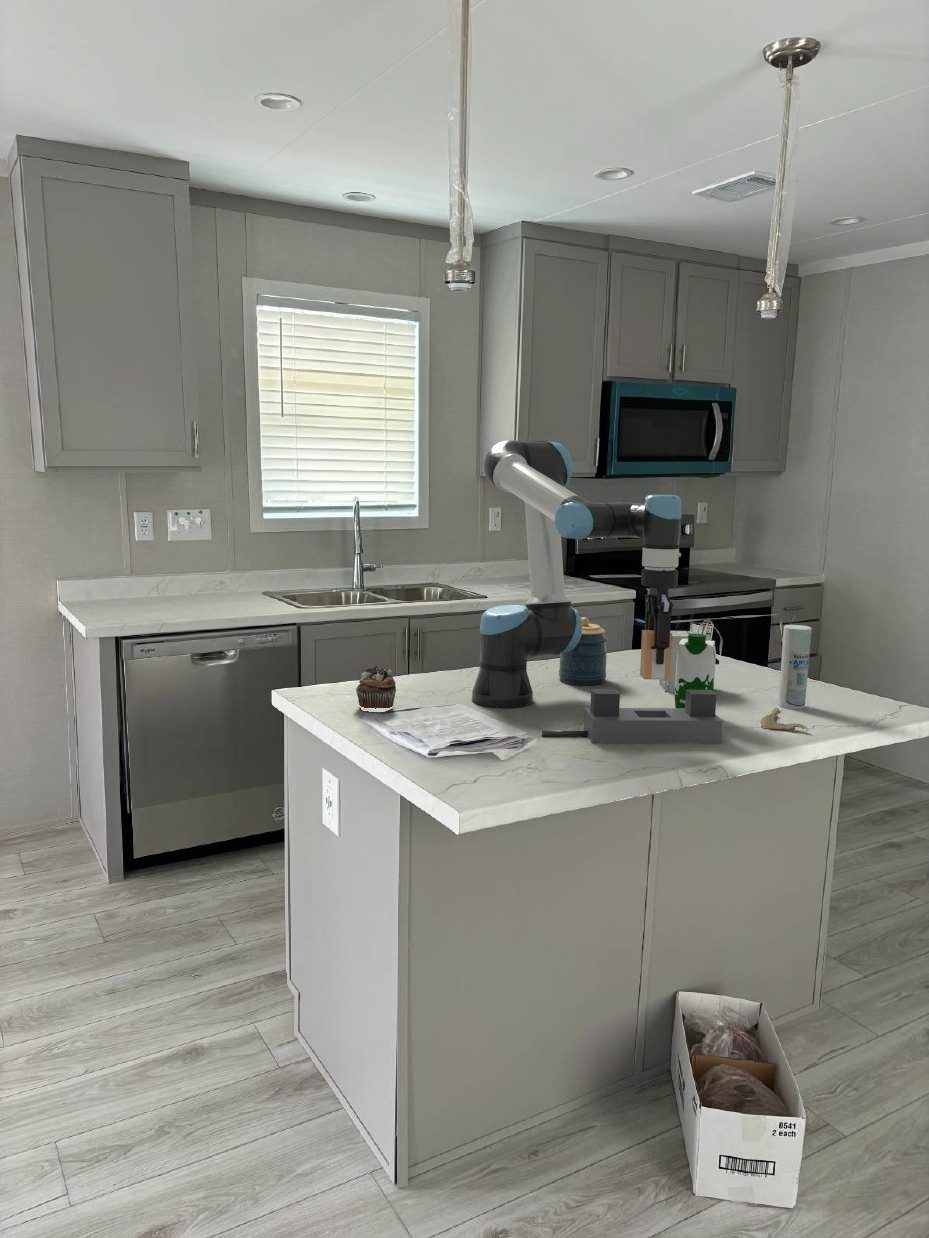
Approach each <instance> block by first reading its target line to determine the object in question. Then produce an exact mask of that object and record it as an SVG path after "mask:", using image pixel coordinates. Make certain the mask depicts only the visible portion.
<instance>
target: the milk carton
mask: <svg viewBox="0 0 929 1238" xmlns="http://www.w3.org/2000/svg"><path fill="white" fill-rule="evenodd" d="M715 642H716V640H707V636H706V635H705V634H703V633H695V634H688V639H682V640H681V641H680V643H679V646H678V651H677V662H676V678H675V692H674V706H675V707H674V708H685V699H686V690H712V691H713V692H714V690H715V689H714V688H715V674H716V672H715V671H716V664H715V659H716V658H717V651H716V643H715ZM714 693H715V692H714Z"/></svg>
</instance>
